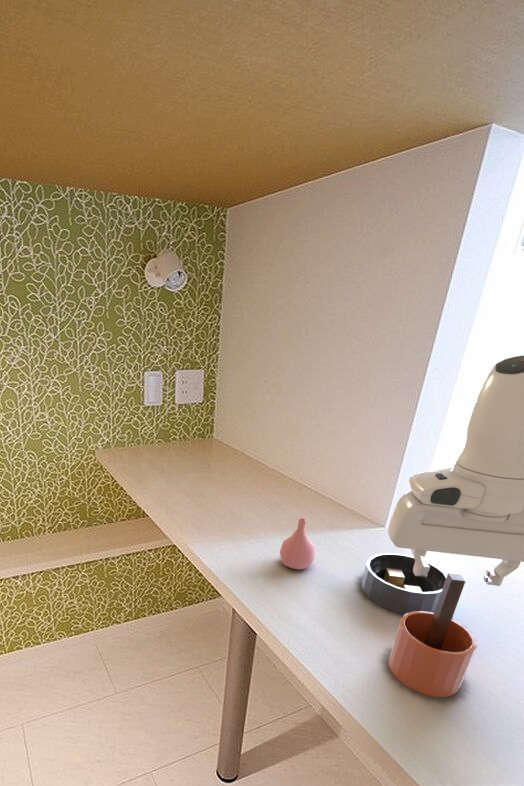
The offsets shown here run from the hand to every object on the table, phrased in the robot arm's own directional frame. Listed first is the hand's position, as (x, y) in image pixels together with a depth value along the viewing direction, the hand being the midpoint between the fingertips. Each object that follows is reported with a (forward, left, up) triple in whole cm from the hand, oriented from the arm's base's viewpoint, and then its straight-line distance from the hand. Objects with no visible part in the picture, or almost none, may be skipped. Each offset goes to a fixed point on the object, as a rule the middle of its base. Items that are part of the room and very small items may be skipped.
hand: (454, 578), depth 62 cm
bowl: (-2, -23, -19) cm, 30 cm away
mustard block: (-3, -20, -18) cm, 27 cm away
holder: (0, 0, -19) cm, 19 cm away
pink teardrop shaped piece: (+19, -30, -19) cm, 40 cm away
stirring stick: (0, 0, -18) cm, 18 cm away
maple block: (-1, -26, -18) cm, 31 cm away
